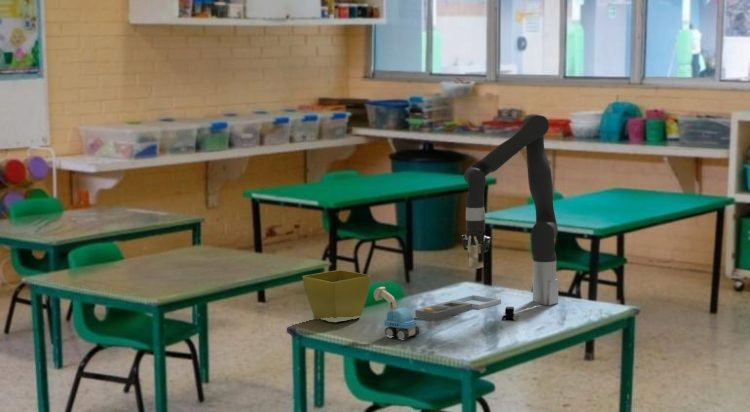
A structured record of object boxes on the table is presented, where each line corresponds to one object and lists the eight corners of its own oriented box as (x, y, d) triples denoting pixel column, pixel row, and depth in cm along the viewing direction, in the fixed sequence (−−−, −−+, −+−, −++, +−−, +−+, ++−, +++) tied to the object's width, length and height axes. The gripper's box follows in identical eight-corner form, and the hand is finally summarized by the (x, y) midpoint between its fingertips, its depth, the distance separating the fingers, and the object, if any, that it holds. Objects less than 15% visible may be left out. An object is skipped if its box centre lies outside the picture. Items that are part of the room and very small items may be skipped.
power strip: (472, 311, 487) (471, 301, 486) (435, 321, 470) (435, 311, 470) (451, 308, 493) (451, 298, 493) (415, 317, 477) (415, 307, 477)
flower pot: (302, 318, 479) (301, 275, 476) (341, 311, 491) (340, 269, 489) (333, 327, 464) (332, 282, 462) (372, 319, 476) (371, 275, 474)
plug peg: (483, 266, 494) (483, 244, 493) (477, 268, 491) (476, 245, 490) (475, 265, 497) (474, 243, 496) (469, 267, 494) (468, 244, 493)
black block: (517, 323, 467) (517, 311, 467) (497, 323, 469) (497, 311, 468) (520, 316, 479) (520, 304, 479) (501, 315, 481) (501, 304, 480)
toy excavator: (385, 330, 457) (384, 284, 454) (421, 337, 446) (421, 289, 444) (370, 335, 450) (369, 288, 448) (406, 341, 440) (406, 293, 437)
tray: (501, 305, 497) (501, 299, 496) (479, 311, 487) (479, 304, 486) (473, 300, 506) (473, 294, 506) (451, 306, 496) (451, 300, 496)
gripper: (495, 218, 490) (496, 262, 492) (467, 216, 499) (467, 258, 501) (484, 221, 484) (484, 264, 486) (455, 218, 494) (456, 261, 496)
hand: (476, 261), depth 494 cm, fingers closed on plug peg, 4 cm apart
